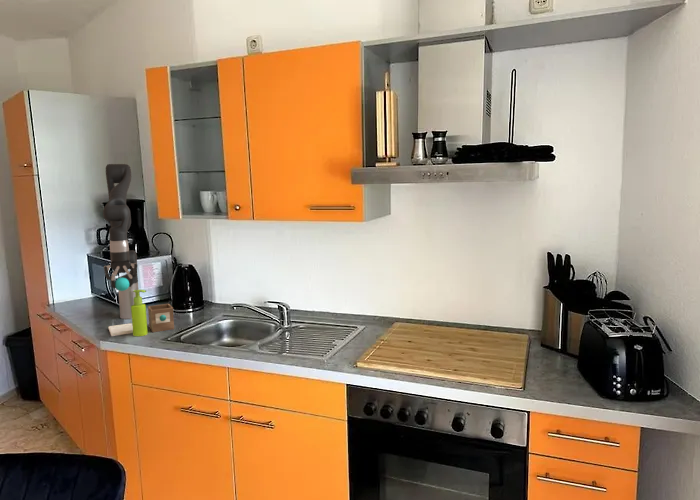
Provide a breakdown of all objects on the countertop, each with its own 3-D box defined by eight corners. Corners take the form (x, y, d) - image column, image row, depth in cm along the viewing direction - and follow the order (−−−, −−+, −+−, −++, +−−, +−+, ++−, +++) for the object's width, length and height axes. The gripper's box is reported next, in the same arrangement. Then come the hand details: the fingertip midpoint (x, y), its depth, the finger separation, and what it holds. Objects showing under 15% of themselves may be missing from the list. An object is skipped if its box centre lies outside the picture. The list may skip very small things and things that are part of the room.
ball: (114, 290, 224) (113, 277, 224) (128, 288, 228) (128, 275, 227) (116, 292, 219) (115, 279, 218) (130, 291, 222) (129, 278, 222)
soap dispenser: (144, 336, 215) (141, 291, 213) (130, 336, 217) (126, 291, 214) (152, 332, 221) (149, 288, 218) (138, 332, 223) (135, 288, 220)
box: (149, 327, 230) (147, 306, 228) (170, 324, 234) (168, 303, 233) (152, 332, 222) (151, 310, 220) (174, 329, 226) (173, 307, 225)
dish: (108, 328, 228) (108, 326, 228) (138, 324, 235) (138, 322, 235) (111, 336, 217) (111, 333, 217) (143, 331, 224) (143, 328, 223)
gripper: (135, 248, 228) (138, 284, 230) (100, 250, 220) (103, 287, 223) (138, 250, 221) (140, 287, 224) (102, 252, 214) (105, 291, 216)
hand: (122, 287), depth 223 cm, fingers closed on ball, 6 cm apart
